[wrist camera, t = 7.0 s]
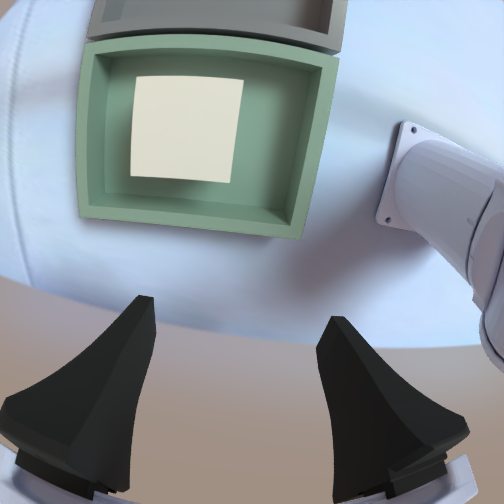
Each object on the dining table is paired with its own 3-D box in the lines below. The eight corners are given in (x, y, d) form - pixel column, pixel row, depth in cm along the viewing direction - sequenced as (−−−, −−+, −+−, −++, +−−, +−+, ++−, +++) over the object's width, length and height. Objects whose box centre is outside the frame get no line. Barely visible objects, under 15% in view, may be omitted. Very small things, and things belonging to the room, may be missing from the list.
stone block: (242, 87, 13) (244, 80, 9) (232, 162, 16) (229, 183, 12) (163, 83, 13) (136, 76, 9) (157, 156, 15) (130, 175, 11)
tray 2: (322, 65, 13) (339, 58, 11) (291, 218, 19) (300, 240, 16) (108, 50, 12) (84, 43, 9) (100, 199, 17) (79, 217, 14)
